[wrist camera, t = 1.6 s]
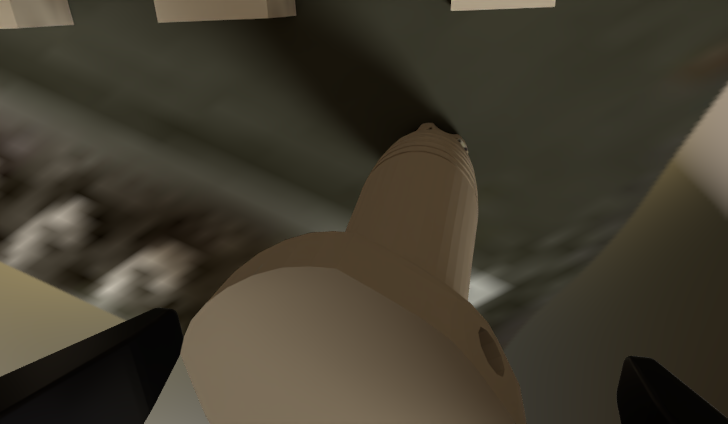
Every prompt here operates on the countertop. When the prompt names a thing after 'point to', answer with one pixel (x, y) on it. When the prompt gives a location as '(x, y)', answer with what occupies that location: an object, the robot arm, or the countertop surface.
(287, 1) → the notched rail
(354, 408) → the handle
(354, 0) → the countertop surface
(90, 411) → the robot arm
